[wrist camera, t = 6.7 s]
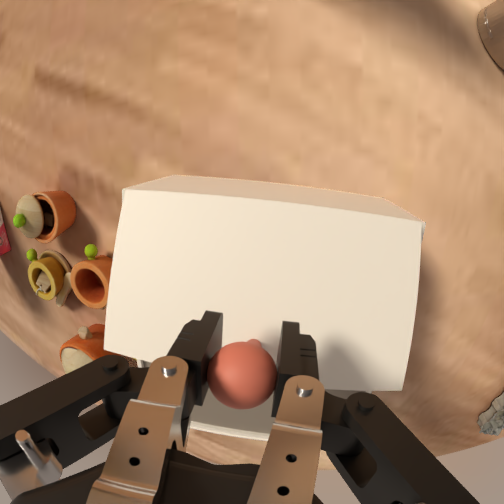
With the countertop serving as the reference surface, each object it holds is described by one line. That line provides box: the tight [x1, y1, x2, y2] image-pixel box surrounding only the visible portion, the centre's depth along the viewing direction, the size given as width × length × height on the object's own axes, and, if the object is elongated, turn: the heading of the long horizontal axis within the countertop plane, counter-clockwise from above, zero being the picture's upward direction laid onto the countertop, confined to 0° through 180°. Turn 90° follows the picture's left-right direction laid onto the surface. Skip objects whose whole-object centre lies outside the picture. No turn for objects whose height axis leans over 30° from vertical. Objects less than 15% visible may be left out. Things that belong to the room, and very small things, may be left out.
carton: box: [122, 175, 426, 441], centre depth 28 cm, size 20×31×10 cm, turn 175°
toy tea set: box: [13, 191, 137, 374], centre depth 30 cm, size 26×16×10 cm, turn 34°
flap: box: [104, 190, 422, 410], centre depth 13 cm, size 19×10×8 cm, turn 85°
